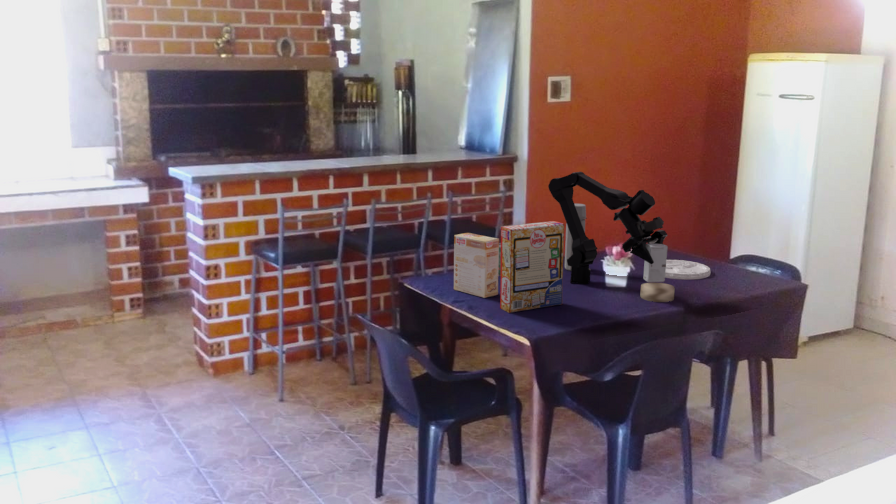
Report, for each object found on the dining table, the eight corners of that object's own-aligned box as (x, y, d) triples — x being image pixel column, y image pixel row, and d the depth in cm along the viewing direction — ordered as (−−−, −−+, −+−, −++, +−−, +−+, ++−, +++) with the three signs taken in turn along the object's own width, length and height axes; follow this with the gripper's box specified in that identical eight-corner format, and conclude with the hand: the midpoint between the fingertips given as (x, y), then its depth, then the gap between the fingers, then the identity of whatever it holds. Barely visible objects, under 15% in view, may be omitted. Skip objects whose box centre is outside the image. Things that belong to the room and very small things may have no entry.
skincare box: (647, 282, 265) (650, 246, 263) (642, 278, 270) (645, 243, 267) (665, 281, 266) (668, 246, 264) (659, 278, 271) (662, 243, 268)
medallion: (664, 282, 293) (665, 275, 293) (631, 264, 319) (631, 259, 318) (722, 278, 299) (723, 272, 298) (685, 262, 324) (685, 256, 324)
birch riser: (641, 301, 268) (642, 290, 267) (639, 293, 278) (639, 281, 277) (675, 303, 266) (676, 291, 265) (672, 294, 276) (672, 283, 276)
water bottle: (579, 272, 304) (582, 207, 299) (560, 269, 308) (562, 205, 303) (588, 267, 312) (592, 203, 306) (570, 265, 316) (572, 202, 310)
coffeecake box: (498, 294, 274) (500, 238, 270) (484, 298, 269) (485, 241, 265) (467, 286, 285) (468, 231, 280) (452, 289, 280) (453, 234, 276)
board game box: (552, 300, 268) (555, 220, 262) (563, 305, 262) (566, 223, 256) (498, 308, 259) (500, 225, 253) (509, 313, 253) (511, 229, 247)
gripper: (632, 212, 259) (659, 252, 254) (664, 206, 272) (691, 243, 266) (610, 232, 267) (636, 271, 262) (643, 225, 279) (668, 262, 274)
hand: (659, 261), depth 266 cm, fingers closed on skincare box, 7 cm apart
